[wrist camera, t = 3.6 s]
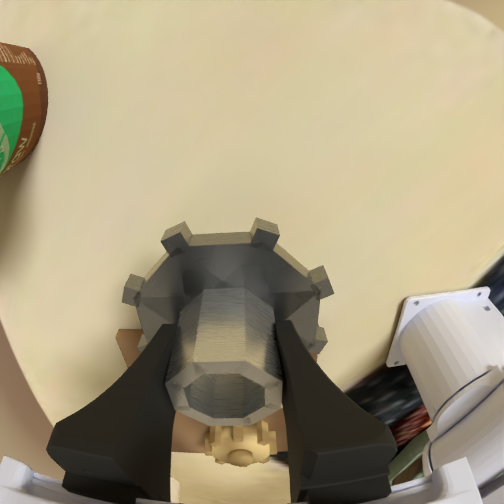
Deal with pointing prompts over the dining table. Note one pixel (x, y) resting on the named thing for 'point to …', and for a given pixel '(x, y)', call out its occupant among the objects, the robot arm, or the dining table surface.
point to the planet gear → (227, 318)
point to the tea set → (409, 461)
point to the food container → (20, 104)
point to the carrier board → (218, 437)
